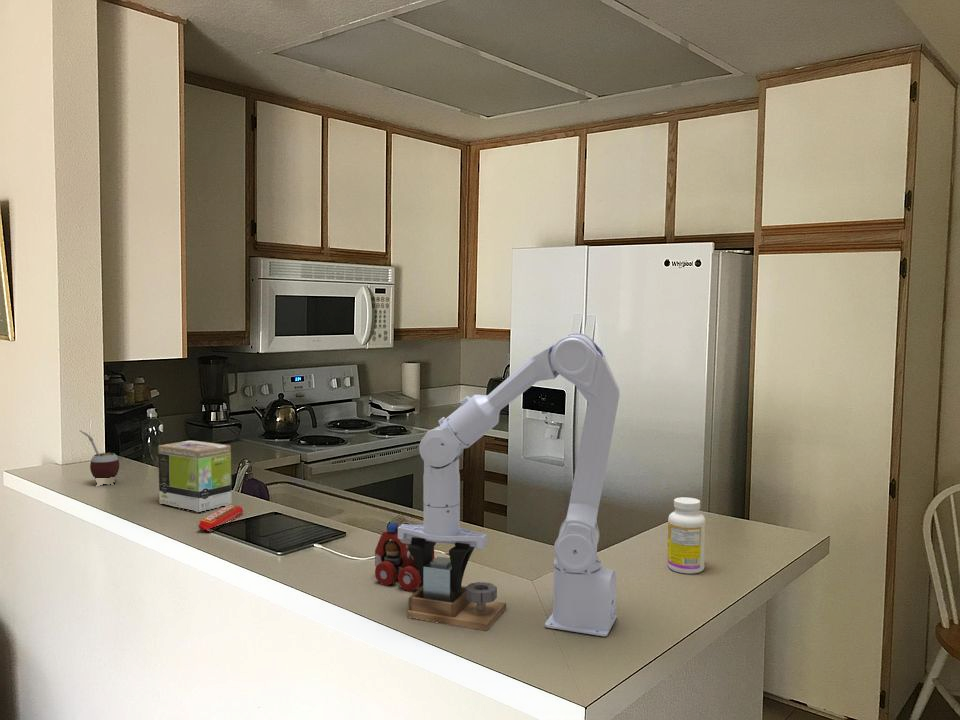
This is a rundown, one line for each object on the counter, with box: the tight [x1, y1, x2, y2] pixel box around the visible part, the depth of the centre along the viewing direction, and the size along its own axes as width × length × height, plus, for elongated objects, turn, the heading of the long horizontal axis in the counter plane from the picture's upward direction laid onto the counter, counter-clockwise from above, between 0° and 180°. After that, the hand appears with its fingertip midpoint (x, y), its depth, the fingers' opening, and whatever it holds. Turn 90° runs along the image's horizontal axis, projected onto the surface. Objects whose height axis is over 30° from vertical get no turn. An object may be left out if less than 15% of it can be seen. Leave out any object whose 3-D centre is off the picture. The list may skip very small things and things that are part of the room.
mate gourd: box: [79, 430, 120, 479], centre depth 207 cm, size 8×8×15 cm
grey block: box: [423, 556, 461, 603], centre depth 123 cm, size 4×4×7 cm
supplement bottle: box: [667, 496, 706, 575], centre depth 143 cm, size 7×7×13 cm
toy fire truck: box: [374, 521, 437, 592], centre depth 136 cm, size 7×12×10 cm, turn 58°
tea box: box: [157, 440, 233, 511], centre depth 186 cm, size 15×10×15 cm, turn 58°
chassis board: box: [406, 585, 507, 632], centre depth 122 cm, size 13×9×4 cm
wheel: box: [466, 581, 498, 604], centre depth 121 cm, size 5×5×2 cm
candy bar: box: [197, 503, 244, 531], centre depth 172 cm, size 16×4×3 cm, turn 171°
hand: (441, 587), depth 123 cm, fingers closed on grey block, 4 cm apart
